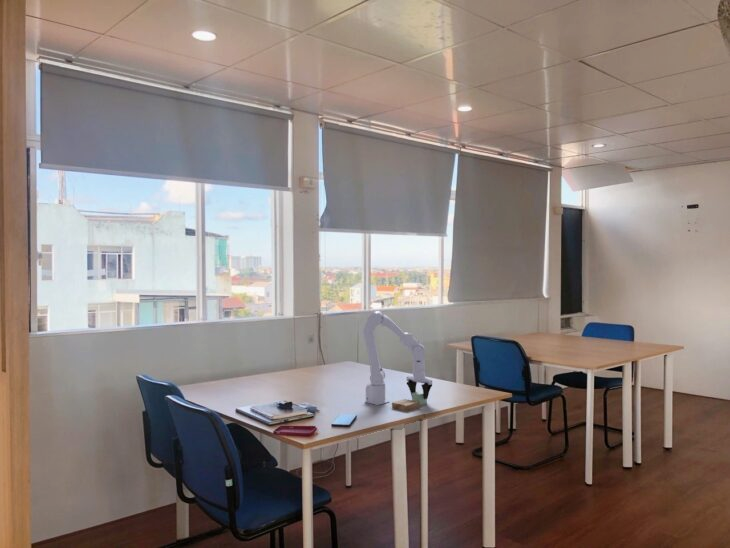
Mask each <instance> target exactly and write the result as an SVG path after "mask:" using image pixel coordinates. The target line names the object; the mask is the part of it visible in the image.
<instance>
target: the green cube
mask: <svg viewBox="0 0 730 548" xmlns="http://www.w3.org/2000/svg"><path fill="white" fill-rule="evenodd" d="M411 400H412V401H417V402H419V405H420V406H423V405H425V404H427V403H428V399H424V397H423V391H421V390H418V391H416V392H414V393H412V396H411Z"/></svg>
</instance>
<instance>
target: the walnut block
mask: <svg viewBox="0 0 730 548" xmlns="http://www.w3.org/2000/svg"><path fill="white" fill-rule="evenodd" d="M420 406H421V405H419V402H417V401H412V399H406V398H404V399H400V400H396V401H393V402H391V409H394V410H398V411H402V412H406V413H407V412H410V411H413V410H414V411H415V410H417V409H420Z"/></svg>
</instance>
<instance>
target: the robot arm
mask: <svg viewBox="0 0 730 548" xmlns="http://www.w3.org/2000/svg"><path fill="white" fill-rule="evenodd" d="M379 325H380V326H381V327H386V328H388V329H389V330H390V331H392V332H393V333H394V334H395V335H396V336H397V337H399V342H400V343H401V344H402V345H404V347H406V348H407V349H408V350H409V351H411V353H412V357H413V359H412V376H410V375H409V376H406V385H407V386H408V390H409V391H410V395H411V397H412V393H414V392H417V384H418V383H421V389H422V392H423V397H424V399H427V400H428V398H429V394H430V391H431V389H432V387H433V379H429V378H427V377H426V360H425V351H426V349H425V348H426V347H425V346H424V345H423V343H420V341H419V340H417V339H415V338H414V336H413V333H410V332H404V331H403V330H402V329H401V328H400V327H399V326H398V325H397V324H396V323H395V322H394V321H393V319H391V318H390V317H389V316H388V315H386V314H384V313H383V311H381V310H375V311H373V312H372V313H371V314H370V315H369V316H368V317H367V318H366V322H365V324H364V326H363V330H362V331H363V337H364V341H365V346H366V352H367V357H368V362H369V365H370V369H369V371H370V377H369V380H370V382H369V383H368V384H366V387H365V400H364V403H368V404H372V405H375V406H380V405H385V404H387V403H390V401H389V400H386V382H385V381H384V379H385V378H386V373H385V371H384V370H383V368H382V365H381V362H380V357H379V351H378V346H377V342H376V337H375V331H376V329H377V328H378V326H379Z"/></svg>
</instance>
